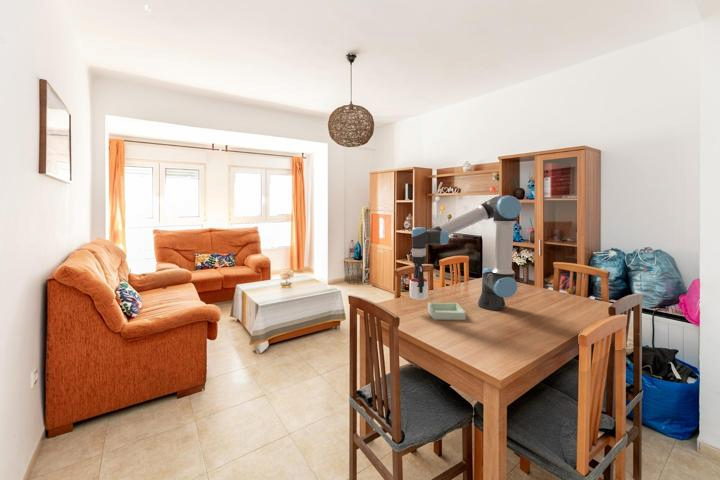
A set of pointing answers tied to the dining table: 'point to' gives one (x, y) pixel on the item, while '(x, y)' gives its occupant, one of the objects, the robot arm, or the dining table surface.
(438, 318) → the pale green square tray
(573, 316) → the dining table surface
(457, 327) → the dining table surface
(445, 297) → the dining table surface
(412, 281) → the cup
